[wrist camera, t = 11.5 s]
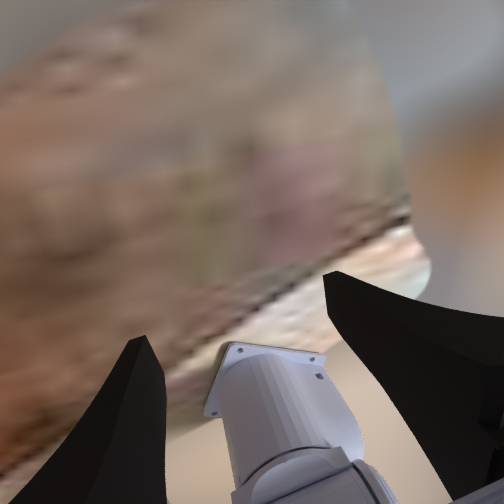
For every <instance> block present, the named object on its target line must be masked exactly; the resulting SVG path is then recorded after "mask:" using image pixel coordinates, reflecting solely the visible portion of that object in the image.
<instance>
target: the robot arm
mask: <svg viewBox="0 0 504 504" xmlns="http://www.w3.org/2000/svg"><path fill="white" fill-rule="evenodd" d="M323 281H324V289H325V297H326V305H327V313H328V316H329V318H330V319H331V321H332V323H333V324H334V326H335V327H336V329H337V331H338V332H339V334H340V335H341V336H342V338H343V339H344V340H345V341H346V342H347V344H348V345H349V346H350V348H351V349H352V350H353V351H354V353H355V354H356V355H357V356H358V357H359V358H360V360H361V361H362V362H363V363H364V364H365V366H366V367H367V368H368V370H369V371H370V372H371V373H372V374H373V376H374V377H375V378H376V379H377V381H378V382H379V383H380V384H381V386H382V387H383V389H384V390H385V392H386V393H387V395H388V396H389V397H390V399H391V401H392V402H393V404H394V405H395V407H396V408H397V410H398V411H399V413H400V414H401V416H402V417H403V419H404V421H405V422H406V424H407V425H408V427H409V428H410V430H411V431H412V433H413V435H414V436H415V437H416V439H417V441H418V443H419V444H420V446H421V448H422V449H423V451H424V452H425V454H426V456H427V458H428V459H429V461H430V462H431V464H432V466H433V467H434V469H435V471H436V472H437V474H438V476H439V478H440V479H441V481H442V483H443V485H444V486H445V488H446V490H447V492H448V493H449V495H450V497H451V498H452V500H453V502H451V503H449V504H504V317H496V316H488V315H481V314H475V313H469V312H464V311H459V310H453V309H449V308H444V307H440V306H435V305H431V304H428V303H424V302H420V301H417V300H413V299H410V298H407V297H404V296H401V295H398V294H395V293H392V292H389V291H387V290H384V289H381V288H379V287H376V286H374V285H371V284H369V283H366V282H364V281H361V280H359V279H357V278H354V277H352V276H349V275H347V274H344V273H342V272H339V271H334V272H331V273H328V274H325V275H323ZM239 348H242V349H241V350H238V349H239ZM310 358H311V359H310ZM325 362H326V357H325V355H324V354H320V353H313V352H305V351H298V350H290V349H282V348H275V347H267V346H260V345H252V344H245V343H237V342H233V343H231V344H229V346H228V348H227V350H226V353H225V355H224V358H223V360H222V363H221V365H220V368H219V371H218V373H217V376H216V378H215V381H214V383H213V386H212V388H211V391H210V394H209V396H208V399H207V401H206V404H205V406H204V409H203V415H204V416H205V417H209V418H222V419H223V424H224V429H225V435H226V440H227V445H228V451H229V456H230V461H231V467H232V472H233V477H234V482H235V488H236V490H235V491H233V492H232V493H231V498H232V504H399V502H398V500H397V498H396V497H395V495H394V493H393V492H392V490H391V489H390V487H389V485H388V484H387V483H386V481H385V480H384V479H383V477H382V476H381V475H380V473H379V472H378V471H377V470H376V469H375V468H374V467H372V466H370V465H368V464H366V463H365V462H364V443H363V438H362V434H361V430H360V428H359V425H358V422H357V420H356V418H355V417H354V415H353V413H352V412H351V410H350V409H349V407H348V405H347V404H346V402H345V400H344V399H343V397H342V396H341V394H340V392H339V391H338V389H337V388H336V386H335V384H334V383H333V381H332V380H331V378H330V377H329V375H328V373H327V372H326V370H325V369H324V367H323V365H324V363H325ZM166 406H167V397H166V386H165V377H164V372H163V370H162V368H161V366H160V364H159V361H158V359H157V357H156V355H155V353H154V351H153V349H152V347H151V345H150V343H149V341H148V339H147V337H146V335H143V336H141V337H138V338H135V339H132V340H129V341H128V343H127V345H126V346H125V348H124V350H123V352H122V353H121V355H120V357H119V359H118V360H117V362H116V364H115V366H114V367H113V369H112V371H111V373H110V374H109V376H108V378H107V379H106V381H105V383H104V384H103V386H102V388H101V389H100V391H99V392H98V394H97V395H96V397H95V398H94V400H93V401H92V403H91V404H90V406H89V407H88V409H87V411H86V412H85V413H84V415H83V416H82V418H81V419H80V421H79V422H78V423H77V425H76V426H75V427H74V429H73V430H72V431H71V433H70V434H69V435H68V436H67V438H66V439H65V440H64V442H63V443H62V444H61V445H60V447H59V448H58V449H57V450H56V451H55V453H54V454H53V455H52V456H51V457H50V458H49V459H48V461H47V462H46V463H45V464H44V465H43V466H42V468H41V469H40V470H39V471H38V472H37V473H36V475H35V476H34V477H33V478H32V479H31V480H30V481H29V482H28V484H27V485H26V486H25V487H24V488H23V489H22V490H21V491H20V492H19V493H18V494H17V495H16V496H15V497H14V498H13V499H12V500H11V501H10V502H9V503H8V504H167V498H166V483H165V440H166Z"/></svg>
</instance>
